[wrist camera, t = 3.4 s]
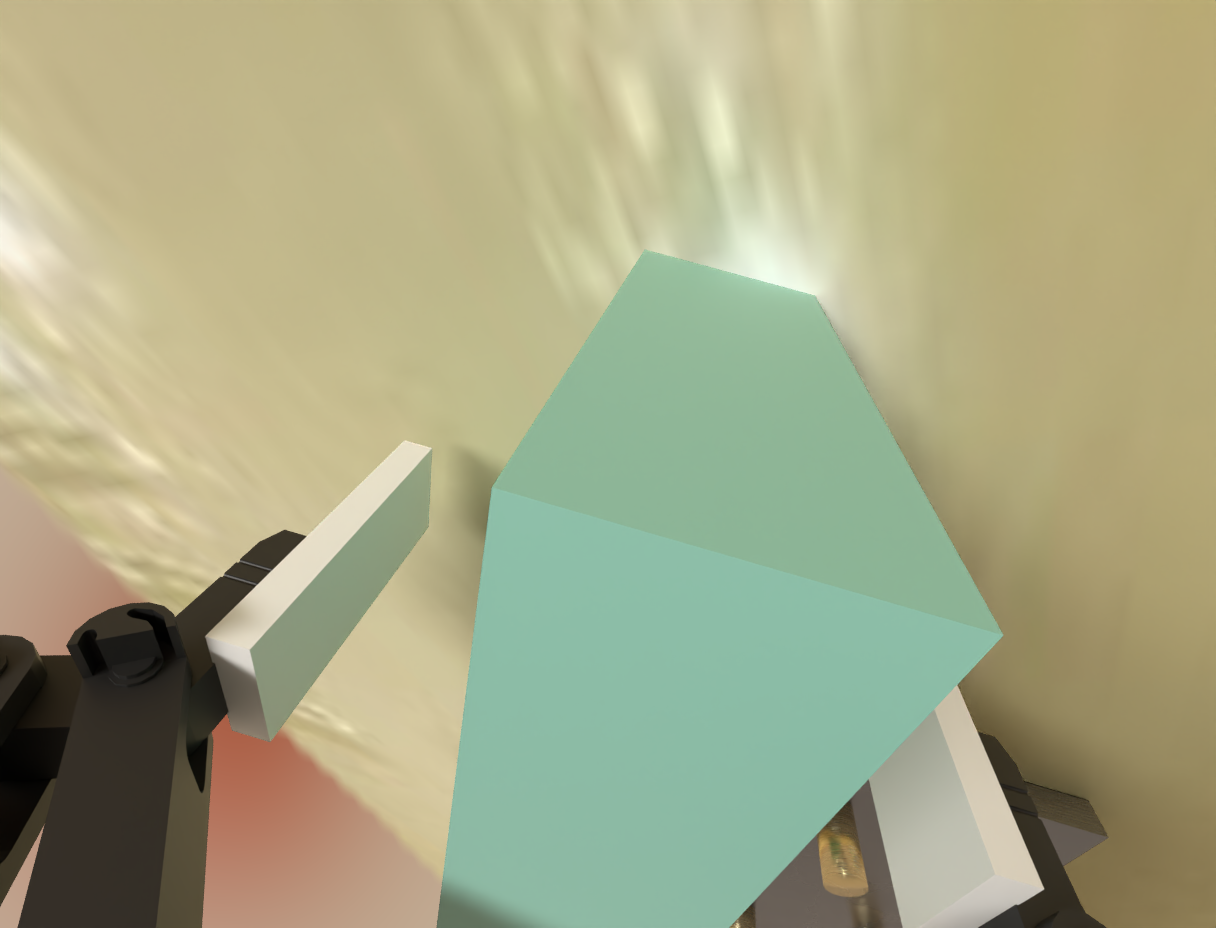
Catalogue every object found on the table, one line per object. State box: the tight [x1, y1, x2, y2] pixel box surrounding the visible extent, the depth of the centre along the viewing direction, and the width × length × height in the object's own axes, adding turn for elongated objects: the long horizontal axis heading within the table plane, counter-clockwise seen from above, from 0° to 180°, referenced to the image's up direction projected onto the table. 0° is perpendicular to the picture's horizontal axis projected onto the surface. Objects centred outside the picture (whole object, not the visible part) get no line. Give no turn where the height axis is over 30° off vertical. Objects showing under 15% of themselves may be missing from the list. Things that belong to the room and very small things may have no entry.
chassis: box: [729, 779, 1109, 928], centre depth 22 cm, size 10×16×4 cm, turn 168°
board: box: [437, 250, 1003, 928], centre depth 12 cm, size 4×14×10 cm, turn 167°
